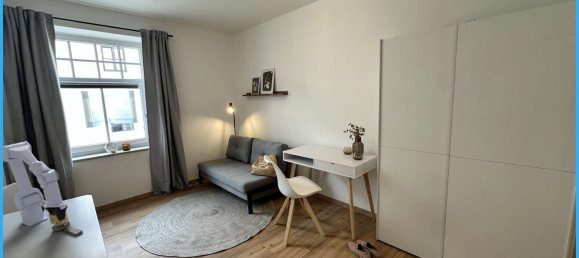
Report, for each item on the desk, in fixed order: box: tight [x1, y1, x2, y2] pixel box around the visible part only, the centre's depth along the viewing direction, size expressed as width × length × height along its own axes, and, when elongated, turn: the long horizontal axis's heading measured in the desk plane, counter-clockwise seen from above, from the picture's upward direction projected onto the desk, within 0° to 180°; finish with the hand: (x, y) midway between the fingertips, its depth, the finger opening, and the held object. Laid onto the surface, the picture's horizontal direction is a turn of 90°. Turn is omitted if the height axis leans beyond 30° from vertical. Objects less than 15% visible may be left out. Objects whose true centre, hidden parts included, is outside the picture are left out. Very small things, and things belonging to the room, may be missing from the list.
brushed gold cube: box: [48, 212, 69, 226], centre depth 131 cm, size 5×5×5 cm
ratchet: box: [51, 220, 84, 237], centre depth 130 cm, size 19×7×4 cm, turn 67°
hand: (59, 219), depth 131 cm, fingers closed on brushed gold cube, 5 cm apart
